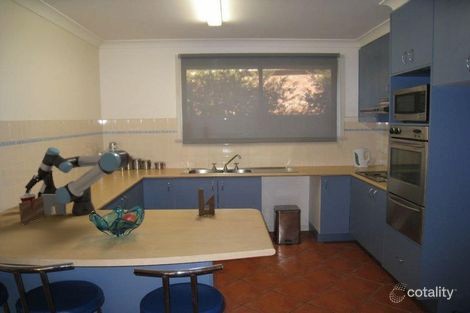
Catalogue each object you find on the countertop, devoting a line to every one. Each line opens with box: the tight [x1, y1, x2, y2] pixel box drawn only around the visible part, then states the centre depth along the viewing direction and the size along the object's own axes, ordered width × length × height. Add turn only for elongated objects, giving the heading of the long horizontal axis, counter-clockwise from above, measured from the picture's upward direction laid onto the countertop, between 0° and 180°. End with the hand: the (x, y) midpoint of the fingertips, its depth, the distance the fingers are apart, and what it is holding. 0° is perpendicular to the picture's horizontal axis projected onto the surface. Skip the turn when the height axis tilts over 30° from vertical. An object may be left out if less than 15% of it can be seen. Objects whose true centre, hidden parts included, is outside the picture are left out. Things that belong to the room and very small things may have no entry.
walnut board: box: [18, 197, 46, 225], centre depth 234 cm, size 2×18×14 cm, turn 167°
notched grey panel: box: [41, 194, 67, 216], centre depth 250 cm, size 18×2×14 cm, turn 77°
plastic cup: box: [18, 193, 37, 210], centre depth 259 cm, size 11×11×12 cm
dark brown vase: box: [36, 169, 58, 198], centre depth 280 cm, size 18×18×28 cm
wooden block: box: [197, 187, 216, 217], centre depth 238 cm, size 4×11×18 cm, turn 98°
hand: (33, 194), depth 244 cm, fingers open, 13 cm apart
